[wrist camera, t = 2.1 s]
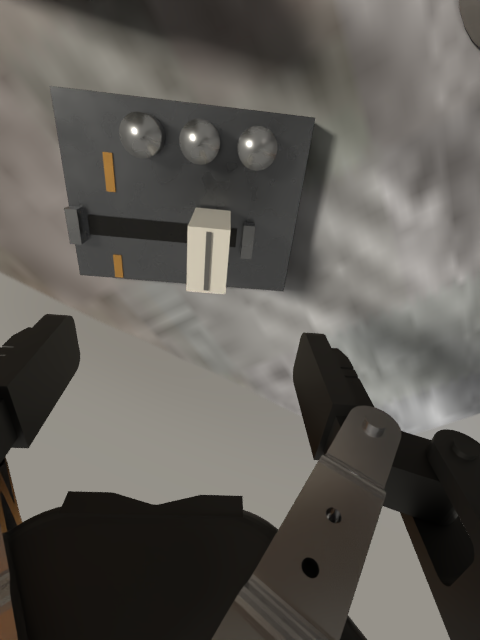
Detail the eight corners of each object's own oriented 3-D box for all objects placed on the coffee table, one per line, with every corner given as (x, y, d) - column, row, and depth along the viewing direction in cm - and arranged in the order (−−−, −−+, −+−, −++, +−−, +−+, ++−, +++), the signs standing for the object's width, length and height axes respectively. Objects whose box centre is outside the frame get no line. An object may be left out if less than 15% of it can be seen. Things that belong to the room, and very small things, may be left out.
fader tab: (230, 210, 22) (230, 230, 18) (226, 265, 24) (225, 294, 20) (195, 207, 22) (187, 226, 18) (194, 262, 24) (186, 291, 20)
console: (308, 118, 22) (321, 117, 19) (279, 281, 28) (286, 300, 25) (64, 89, 21) (35, 82, 18) (89, 265, 27) (71, 283, 24)
